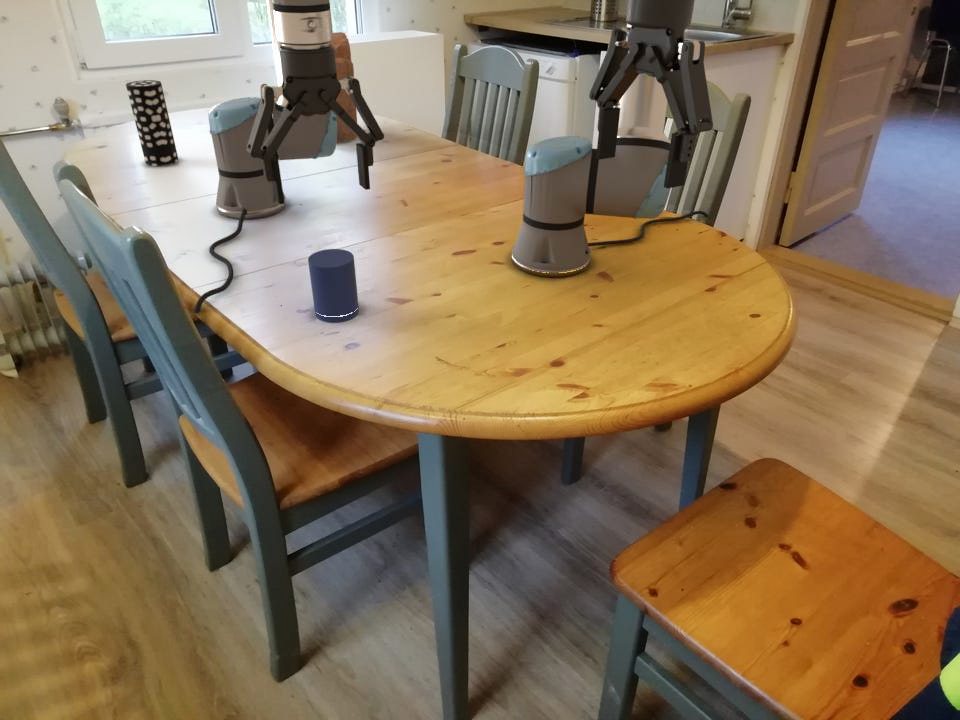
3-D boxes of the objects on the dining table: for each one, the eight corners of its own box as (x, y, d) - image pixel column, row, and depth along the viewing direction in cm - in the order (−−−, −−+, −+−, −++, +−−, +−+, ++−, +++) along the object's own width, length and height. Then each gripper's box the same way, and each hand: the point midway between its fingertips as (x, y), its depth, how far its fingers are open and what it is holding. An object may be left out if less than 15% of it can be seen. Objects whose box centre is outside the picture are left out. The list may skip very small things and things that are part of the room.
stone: (363, 142, 203) (354, 38, 189) (325, 145, 200) (313, 39, 186) (351, 127, 221) (342, 31, 207) (316, 130, 218) (304, 32, 204)
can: (365, 315, 116) (361, 261, 111) (324, 326, 113) (317, 271, 107) (348, 298, 121) (343, 245, 116) (309, 308, 118) (301, 254, 112)
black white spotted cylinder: (184, 157, 190) (167, 80, 179) (169, 166, 183) (151, 87, 172) (155, 156, 190) (136, 79, 179) (139, 165, 183) (119, 86, 172)
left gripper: (218, 55, 86) (247, 216, 98) (400, 42, 97) (407, 188, 109) (206, 46, 92) (235, 199, 104) (380, 34, 102) (388, 174, 114)
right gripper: (572, -19, 87) (559, 150, 98) (720, -1, 68) (683, 205, 80) (618, -21, 90) (601, 144, 101) (772, -4, 71) (730, 195, 83)
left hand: (323, 194), depth 106 cm, fingers open, 13 cm apart
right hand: (637, 171), depth 90 cm, fingers open, 13 cm apart
